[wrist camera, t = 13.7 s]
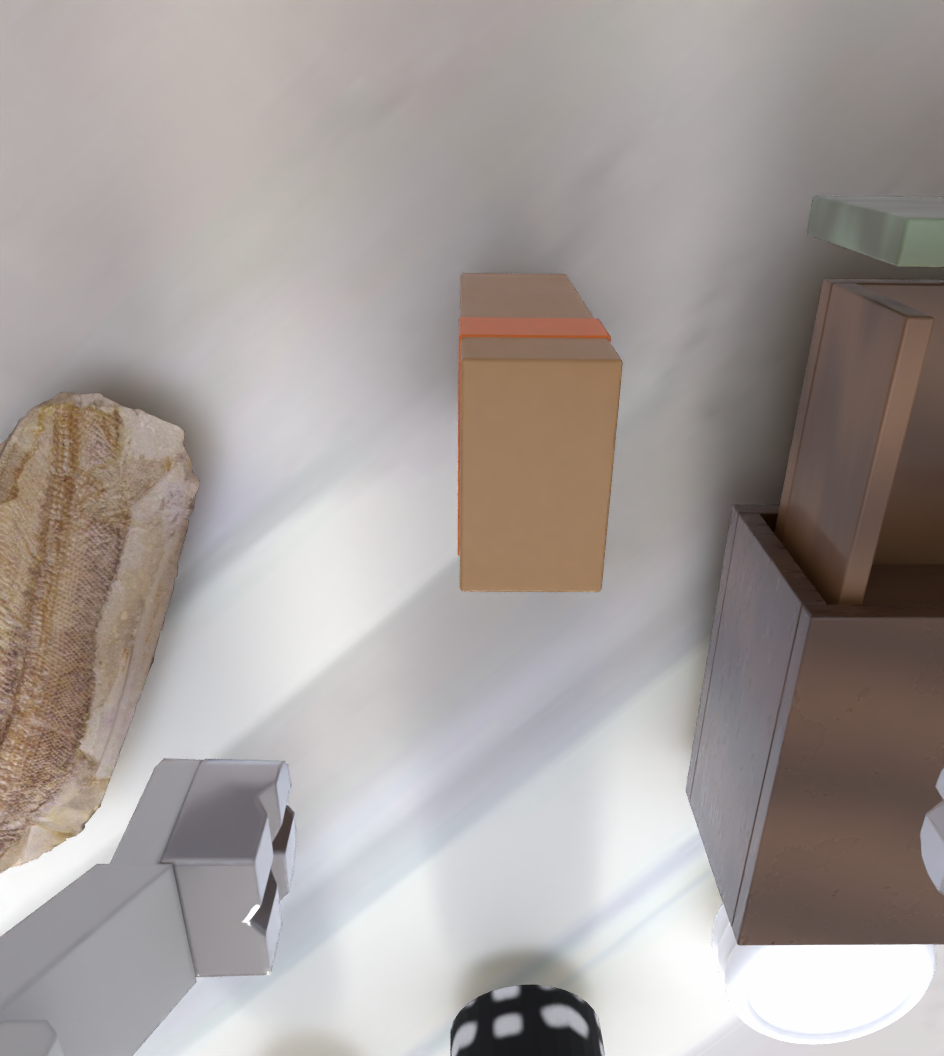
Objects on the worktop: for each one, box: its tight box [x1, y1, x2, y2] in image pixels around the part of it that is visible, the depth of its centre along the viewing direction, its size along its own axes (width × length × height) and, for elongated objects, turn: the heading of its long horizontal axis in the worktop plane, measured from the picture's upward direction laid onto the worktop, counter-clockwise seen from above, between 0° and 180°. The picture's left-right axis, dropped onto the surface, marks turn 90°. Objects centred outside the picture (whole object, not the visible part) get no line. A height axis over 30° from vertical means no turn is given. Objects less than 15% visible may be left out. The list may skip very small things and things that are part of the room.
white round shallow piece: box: [712, 904, 936, 1044], centre depth 41 cm, size 10×10×4 cm
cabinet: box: [686, 505, 944, 946], centre depth 32 cm, size 15×15×8 cm
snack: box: [458, 273, 623, 592], centre depth 25 cm, size 6×4×11 cm, turn 179°
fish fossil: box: [0, 392, 199, 873], centre depth 35 cm, size 26×10×1 cm, turn 155°
